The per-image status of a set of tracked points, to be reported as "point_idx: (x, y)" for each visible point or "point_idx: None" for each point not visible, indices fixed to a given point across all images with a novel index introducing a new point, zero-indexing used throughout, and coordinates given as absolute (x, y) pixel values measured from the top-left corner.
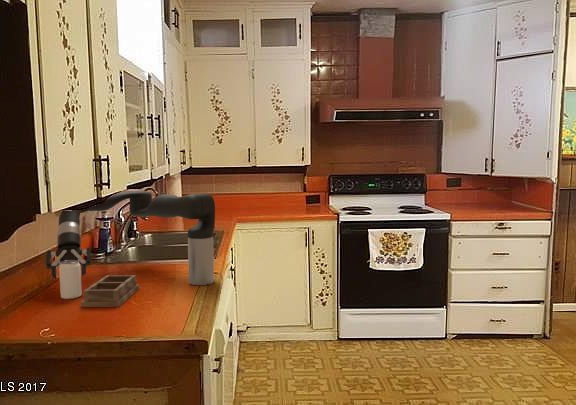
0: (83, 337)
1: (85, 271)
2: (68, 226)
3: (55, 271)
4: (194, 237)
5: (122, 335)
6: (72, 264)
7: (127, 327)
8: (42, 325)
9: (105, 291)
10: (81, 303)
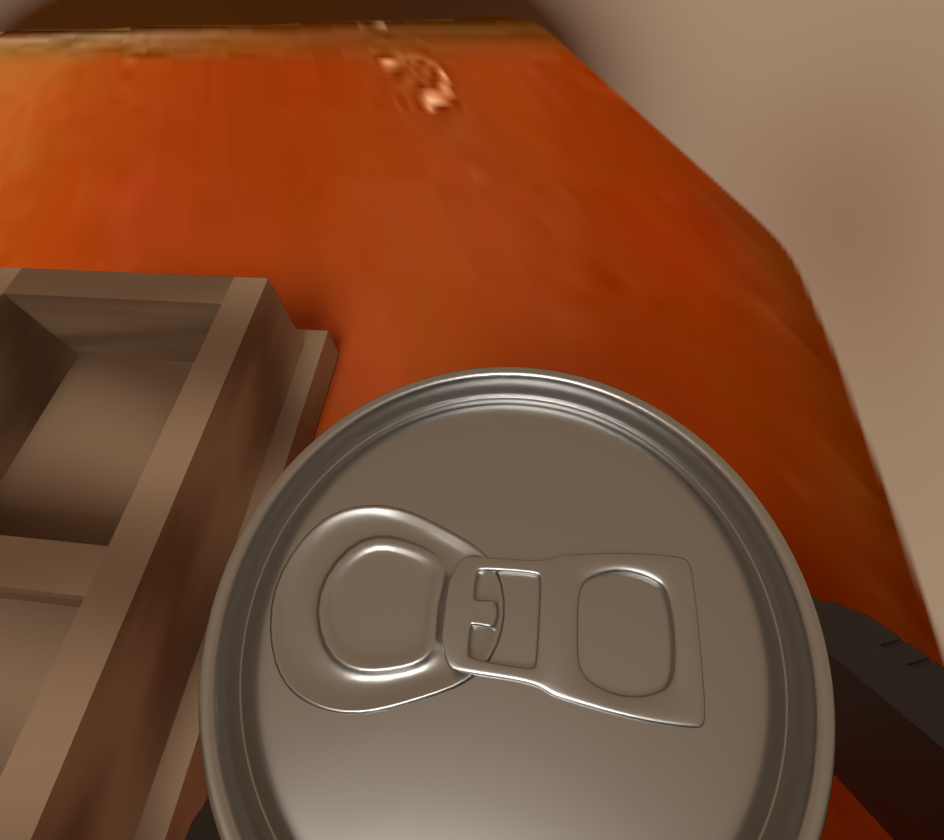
0: (271, 49)
1: (208, 809)
2: None
3: (831, 645)
4: None
5: (136, 58)
6: (372, 430)
7: (105, 106)
8: (471, 129)
9: (90, 277)
10: (326, 335)
